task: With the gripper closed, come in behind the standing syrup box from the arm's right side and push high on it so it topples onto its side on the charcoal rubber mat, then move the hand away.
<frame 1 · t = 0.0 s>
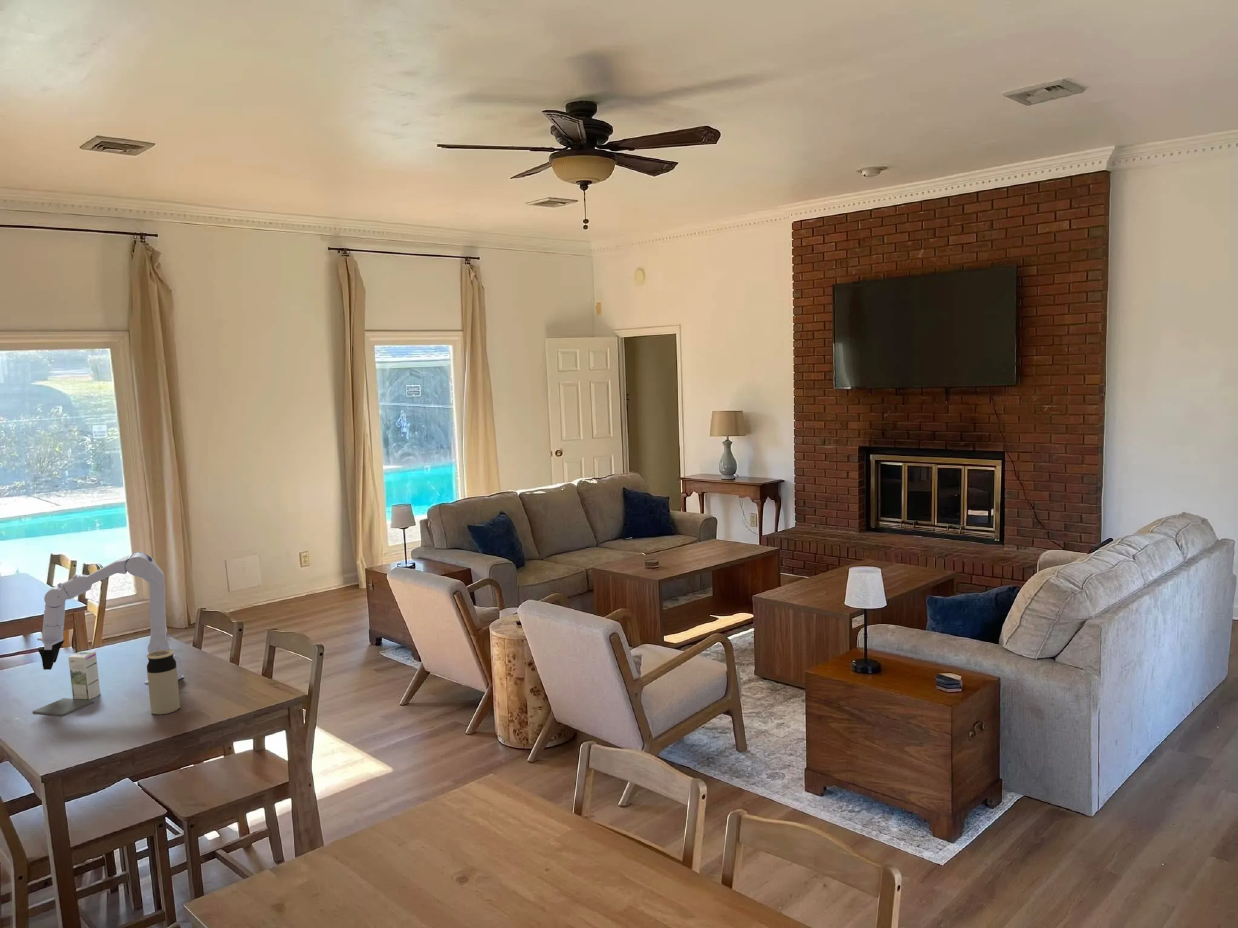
hand: (49, 665, 285), 11 cm above the table, tool pointing down, fingers open, 7 cm apart
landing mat: (63, 707, 276), on the table
travel mug: (165, 710, 271), on the table
syrup box: (86, 697, 285), on the table
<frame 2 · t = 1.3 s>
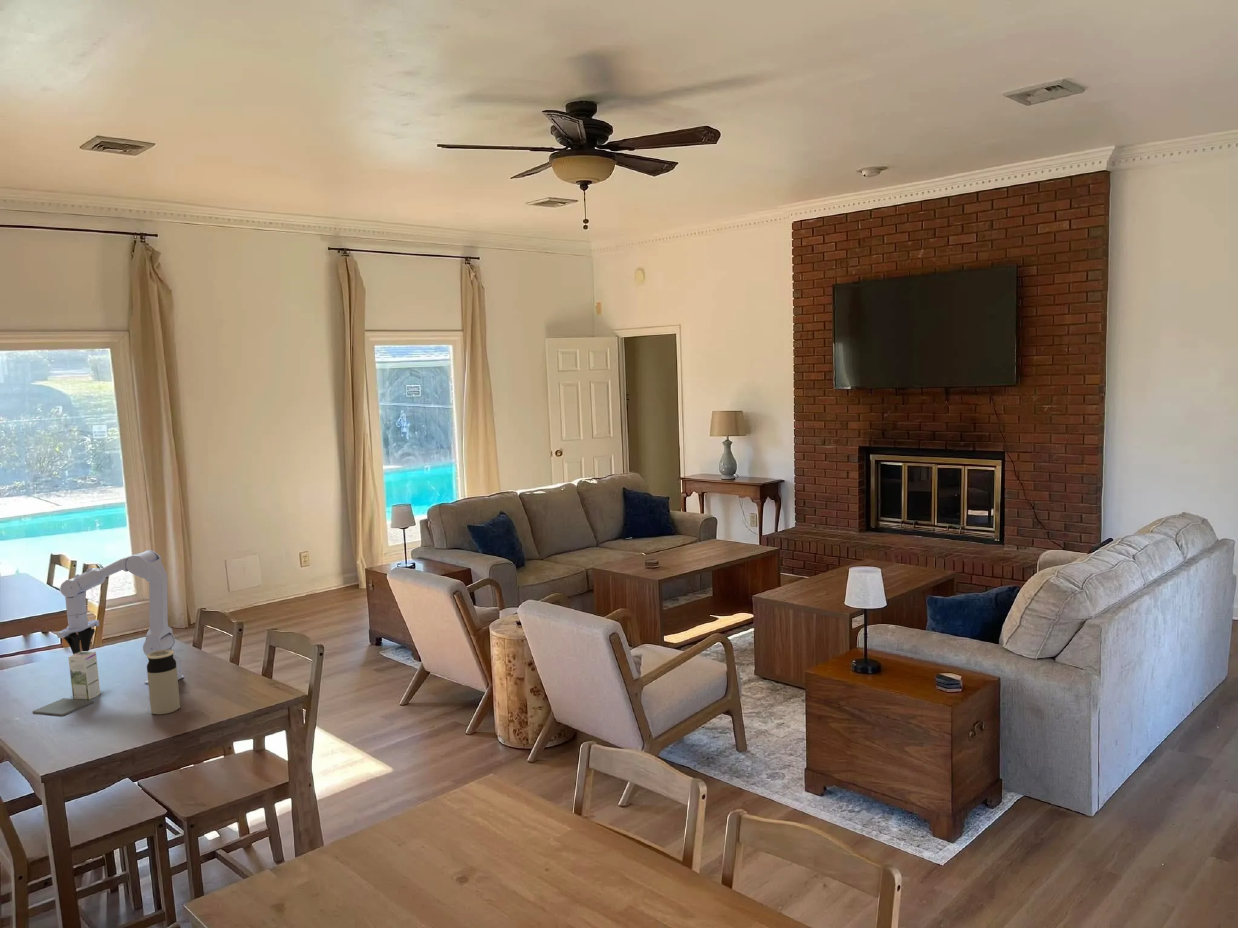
hand: (81, 652, 298), 10 cm above the table, tool pointing down, fingers open, 3 cm apart
nothing on the table moved.
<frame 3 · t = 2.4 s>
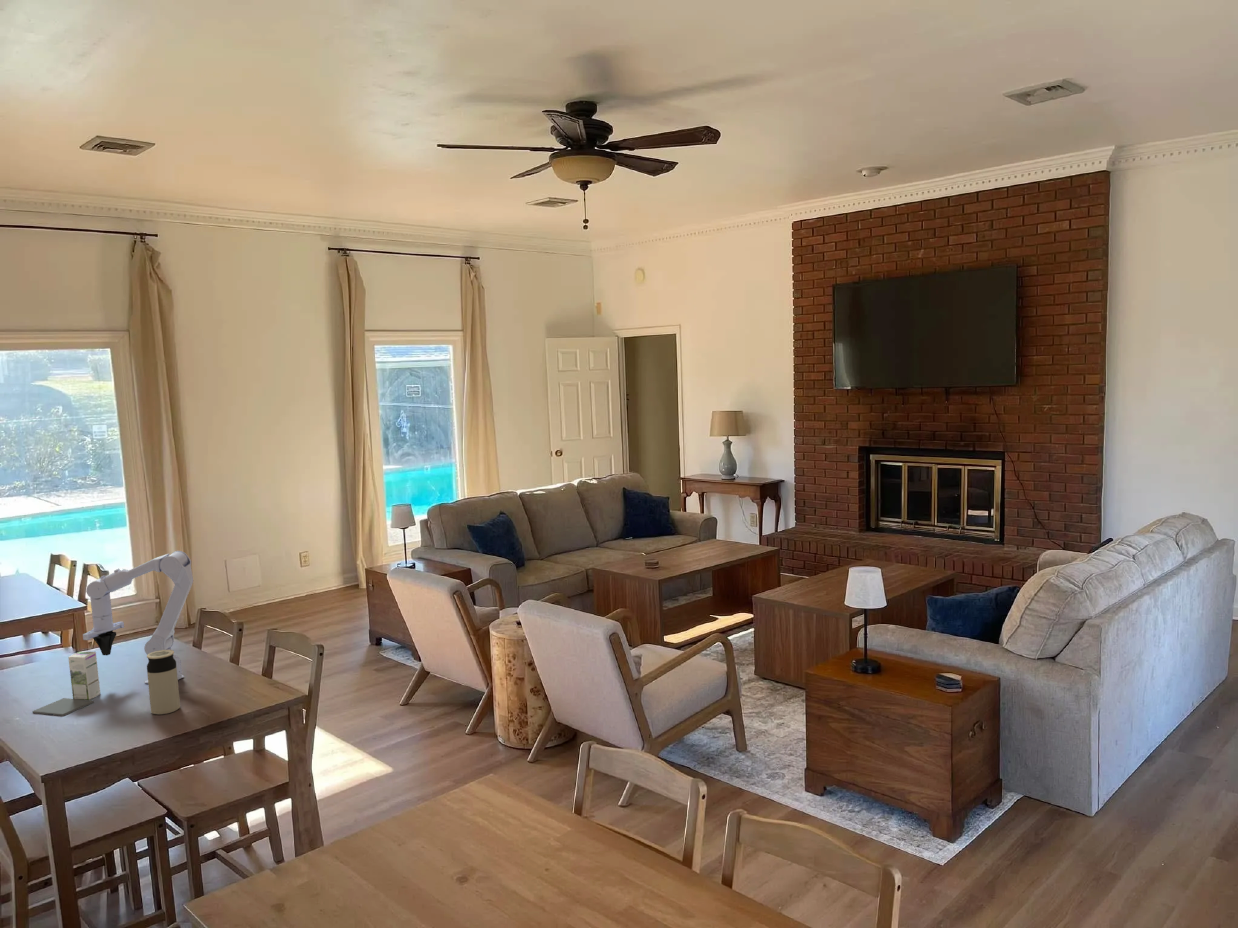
hand: (106, 654, 295), 10 cm above the table, tool pointing down, fingers closed
nothing on the table moved.
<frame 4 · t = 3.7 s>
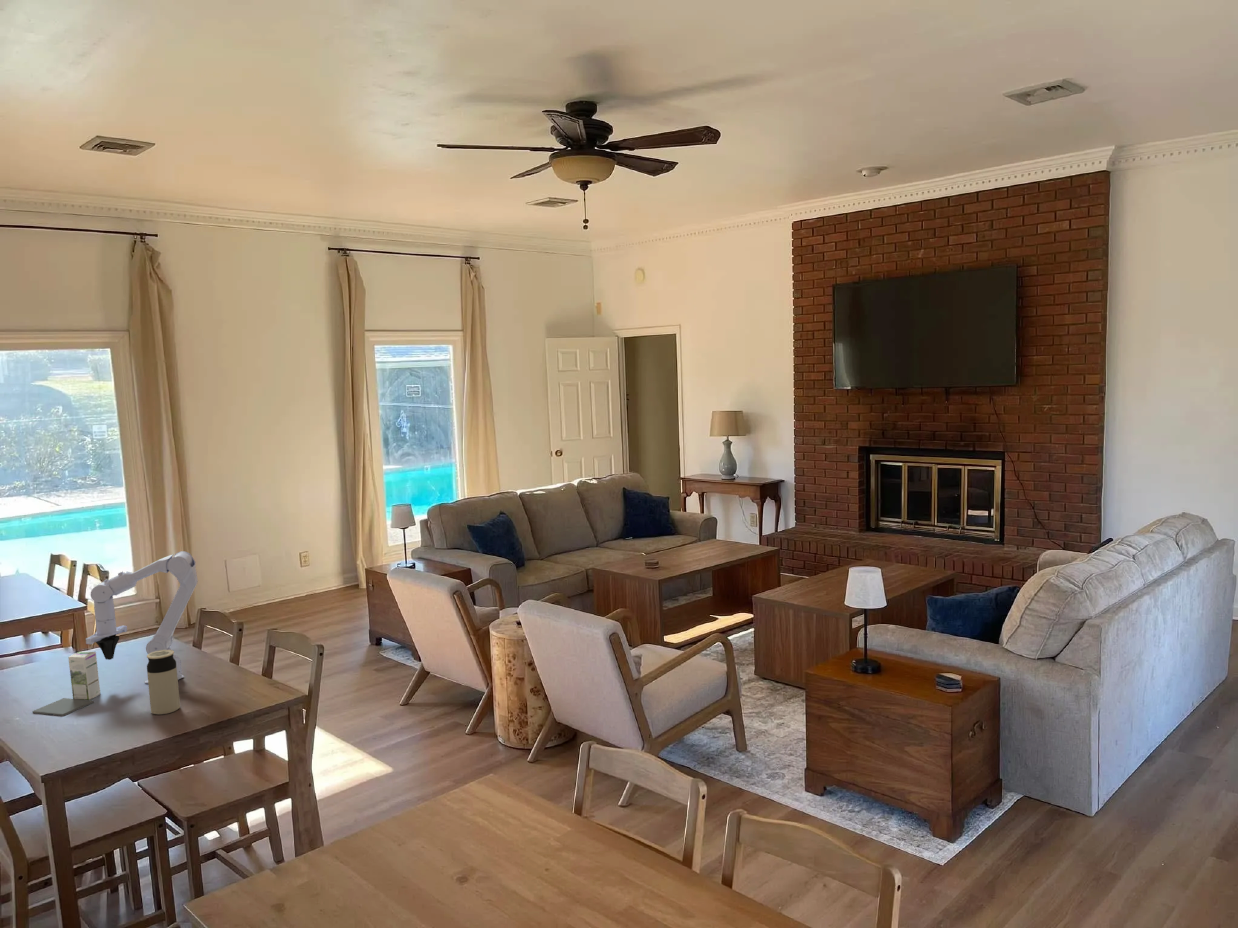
hand: (109, 658, 293), 9 cm above the table, tool pointing down, fingers closed
nothing on the table moved.
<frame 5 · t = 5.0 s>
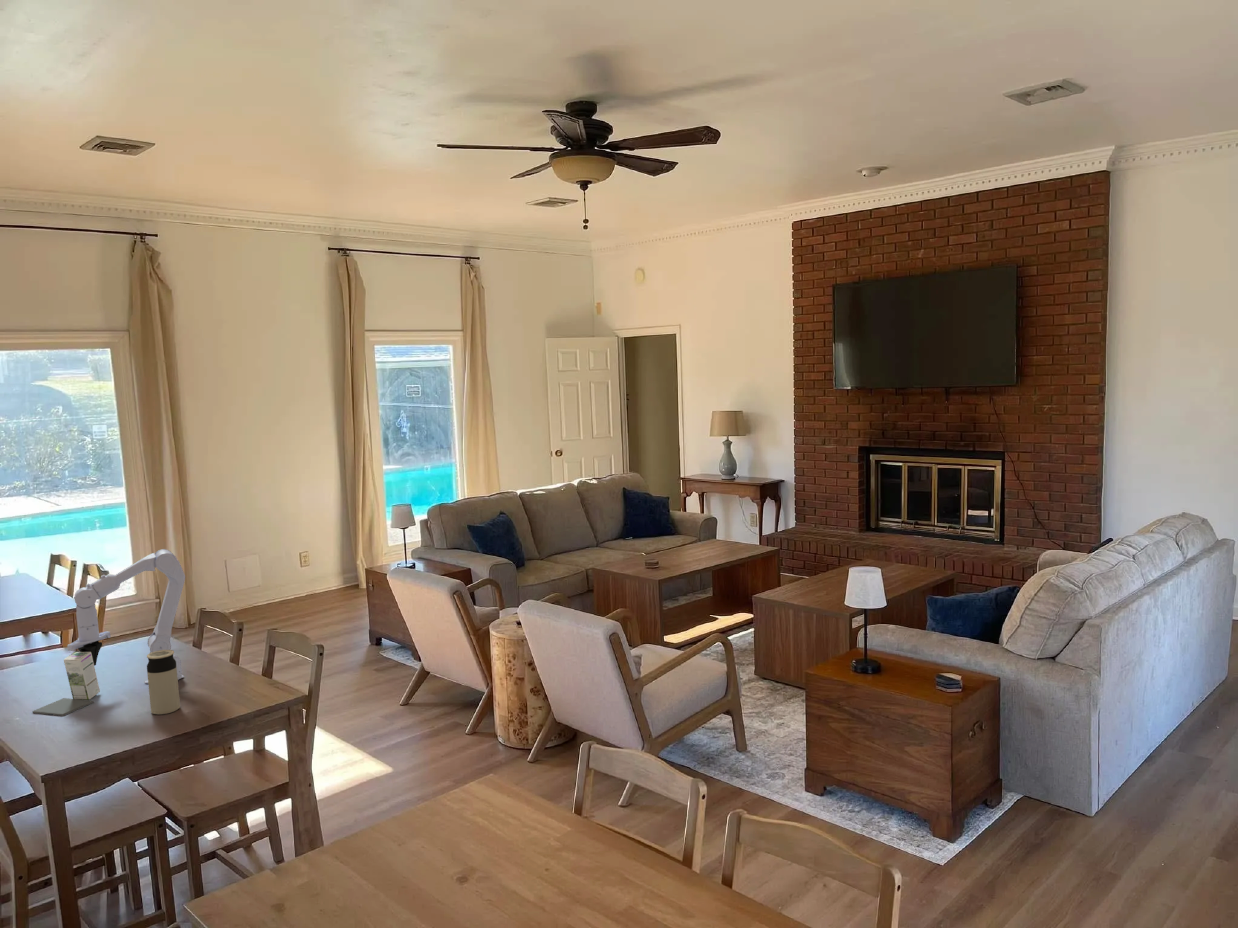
hand: (91, 665, 287), 9 cm above the table, tool pointing down, fingers closed
syrup box: (86, 696, 285), on the table, touching gripper
everything else where it was.
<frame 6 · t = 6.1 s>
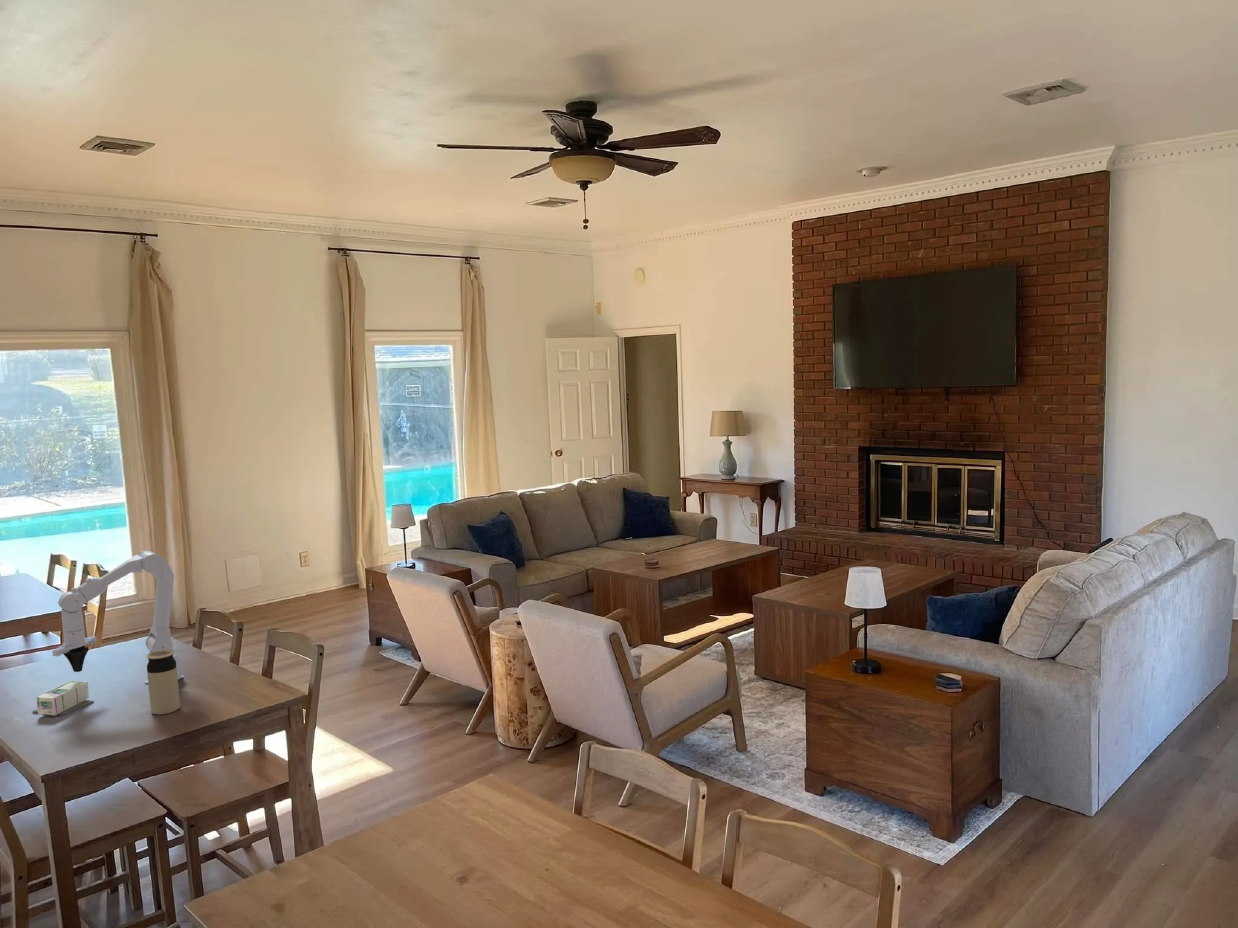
hand: (77, 671, 282), 9 cm above the table, tool pointing down, fingers closed
syrup box: (81, 689, 283), point 3 cm above the table, touching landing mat
everything else where it was.
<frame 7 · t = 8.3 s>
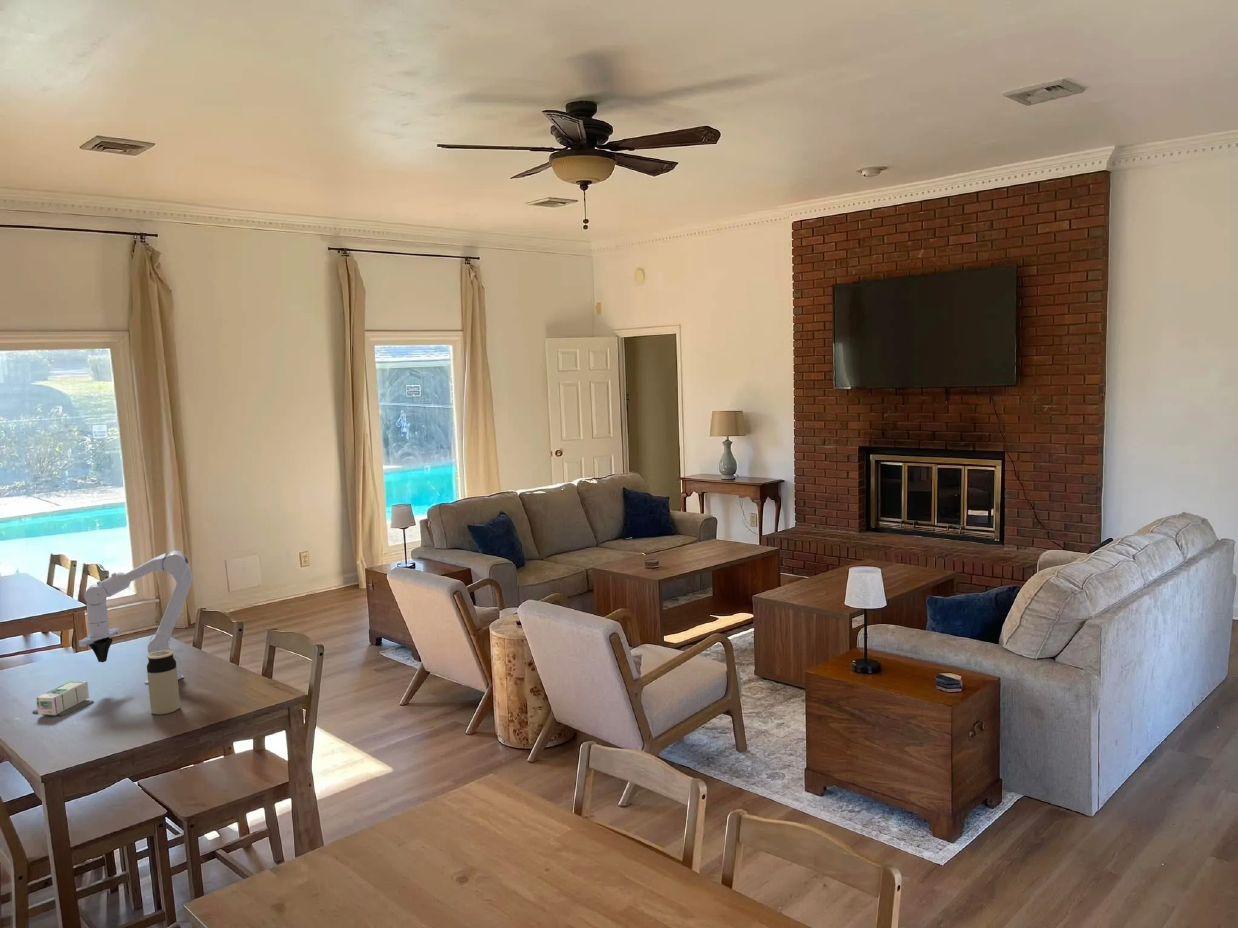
hand: (102, 661, 291), 9 cm above the table, tool pointing down, fingers closed
nothing on the table moved.
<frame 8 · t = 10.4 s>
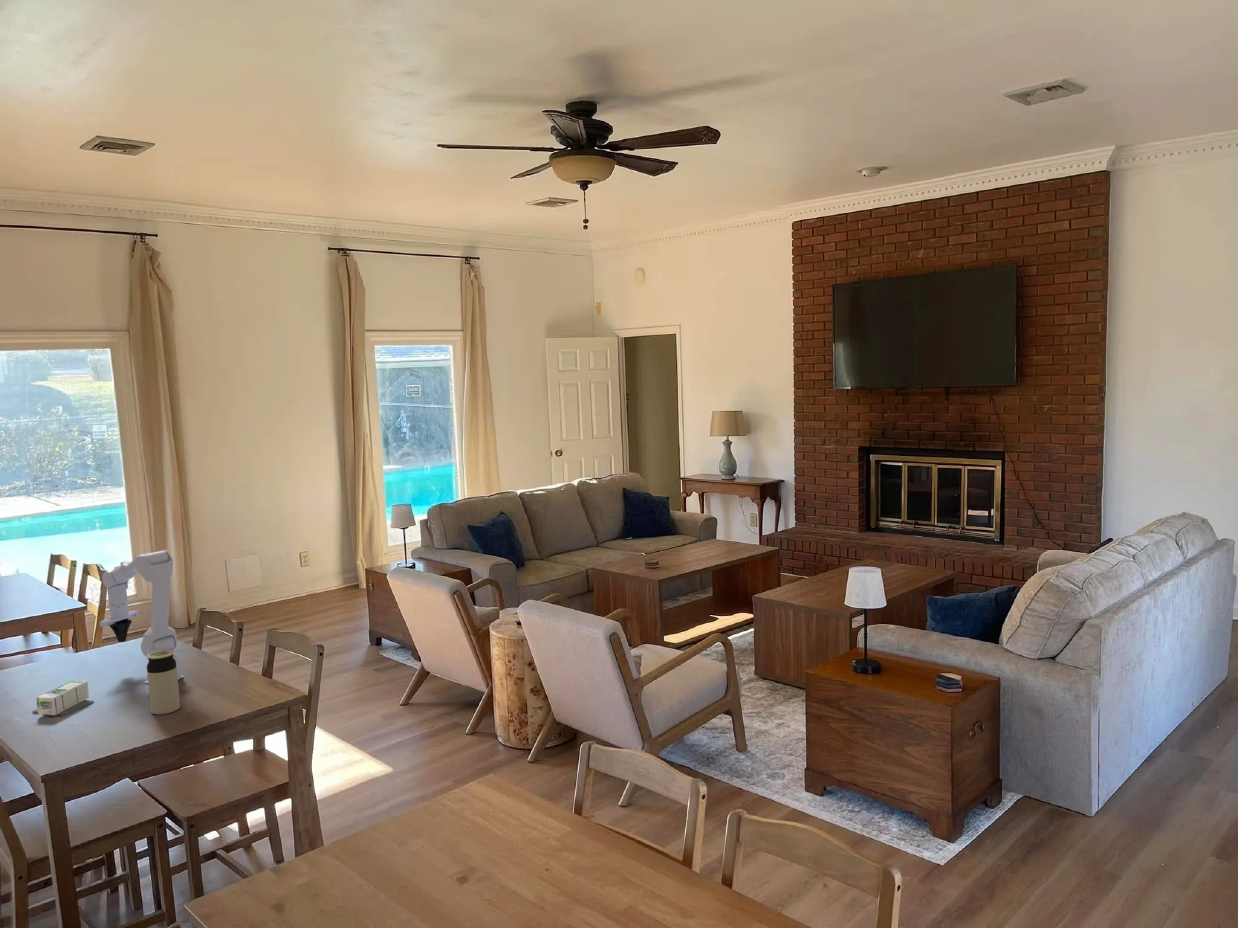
hand: (122, 641, 309), 10 cm above the table, tool pointing down, fingers closed
nothing on the table moved.
at the end: syrup box tilted 89°; syrup box touching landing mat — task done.
